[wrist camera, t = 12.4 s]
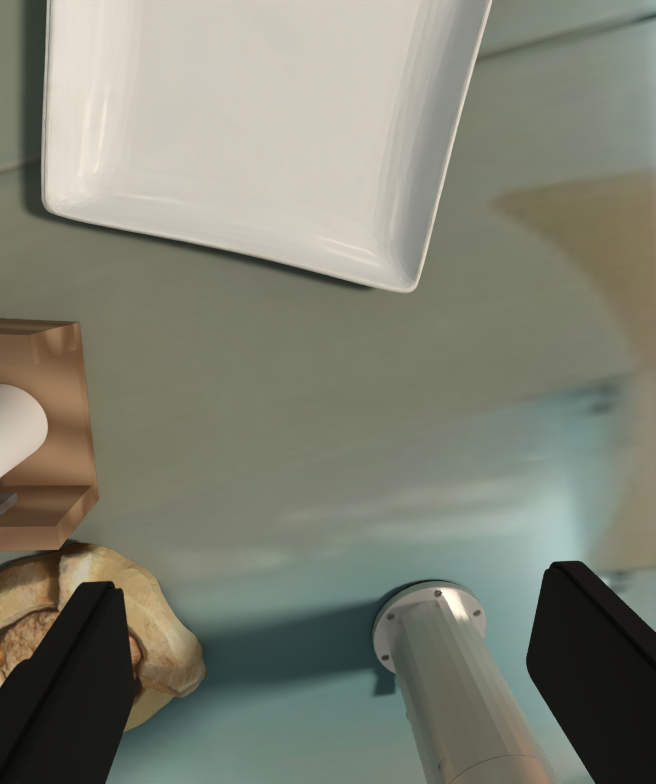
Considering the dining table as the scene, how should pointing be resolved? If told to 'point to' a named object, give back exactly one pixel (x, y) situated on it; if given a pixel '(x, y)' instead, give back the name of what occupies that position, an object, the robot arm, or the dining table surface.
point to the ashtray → (143, 610)
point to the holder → (48, 436)
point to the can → (19, 426)
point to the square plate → (260, 124)
